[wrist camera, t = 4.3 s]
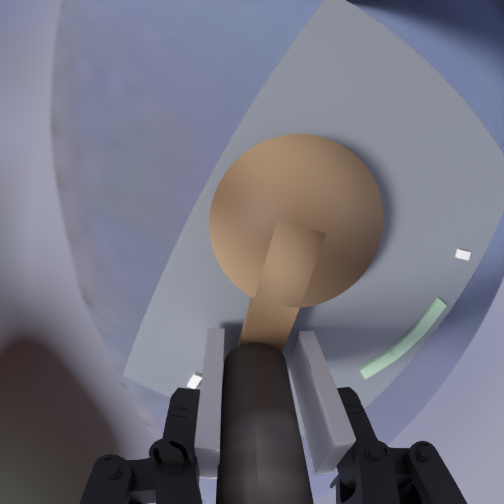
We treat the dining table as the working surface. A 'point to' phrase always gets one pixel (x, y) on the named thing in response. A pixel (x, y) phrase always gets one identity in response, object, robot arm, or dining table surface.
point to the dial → (283, 294)
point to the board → (393, 199)
